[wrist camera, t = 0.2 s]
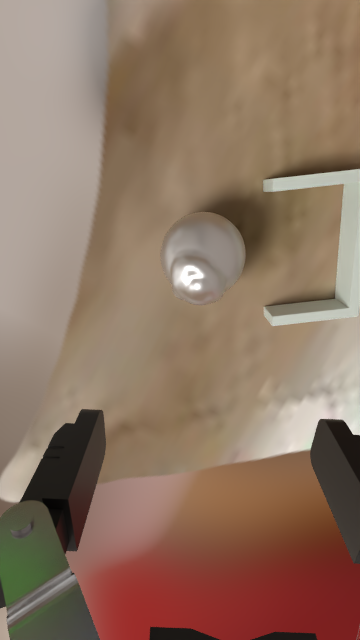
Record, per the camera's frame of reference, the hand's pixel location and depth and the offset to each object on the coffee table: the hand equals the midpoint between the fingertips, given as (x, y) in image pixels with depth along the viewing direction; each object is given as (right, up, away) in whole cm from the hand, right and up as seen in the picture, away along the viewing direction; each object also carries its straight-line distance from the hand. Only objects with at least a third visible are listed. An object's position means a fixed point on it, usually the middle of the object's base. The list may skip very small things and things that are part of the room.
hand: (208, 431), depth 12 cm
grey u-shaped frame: (+14, +13, +26) cm, 32 cm away
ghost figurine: (+1, +12, +26) cm, 29 cm away
